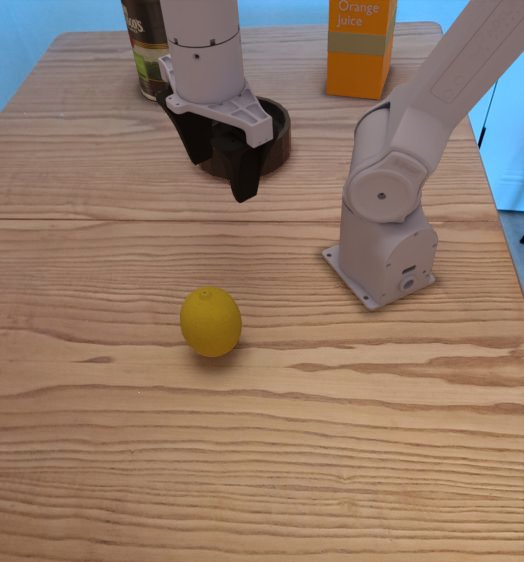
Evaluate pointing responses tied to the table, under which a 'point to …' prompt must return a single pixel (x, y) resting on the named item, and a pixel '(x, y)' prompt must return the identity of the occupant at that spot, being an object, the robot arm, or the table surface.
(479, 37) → the robot arm
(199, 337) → the lemon
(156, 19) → the coffee can
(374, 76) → the orange juice
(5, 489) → the table surface
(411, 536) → the table surface
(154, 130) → the table surface
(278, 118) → the bowl
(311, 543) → the table surface
